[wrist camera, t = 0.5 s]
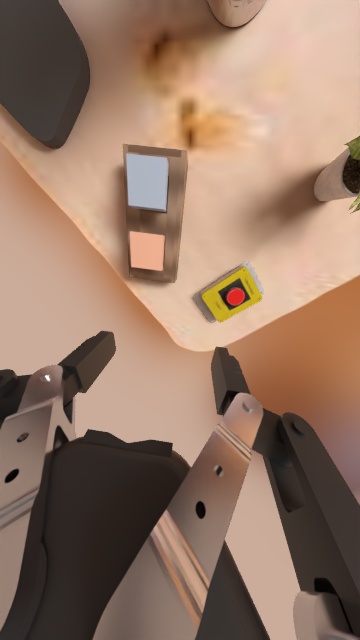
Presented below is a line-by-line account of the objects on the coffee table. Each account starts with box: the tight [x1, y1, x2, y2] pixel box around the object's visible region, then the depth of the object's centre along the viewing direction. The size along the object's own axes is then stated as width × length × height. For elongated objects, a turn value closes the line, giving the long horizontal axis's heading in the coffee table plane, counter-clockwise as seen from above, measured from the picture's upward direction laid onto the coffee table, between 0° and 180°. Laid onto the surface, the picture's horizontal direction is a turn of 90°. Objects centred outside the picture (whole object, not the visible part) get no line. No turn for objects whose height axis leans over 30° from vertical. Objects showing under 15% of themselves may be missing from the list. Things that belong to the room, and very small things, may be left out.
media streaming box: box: [0, 0, 90, 148], centre depth 20 cm, size 15×15×3 cm
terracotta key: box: [130, 231, 165, 271], centre depth 26 cm, size 6×6×4 cm
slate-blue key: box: [126, 153, 169, 212], centre depth 22 cm, size 6×6×4 cm
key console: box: [123, 144, 188, 283], centre depth 27 cm, size 20×10×4 cm, turn 174°
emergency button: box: [194, 261, 264, 323], centre depth 33 cm, size 9×4×15 cm
